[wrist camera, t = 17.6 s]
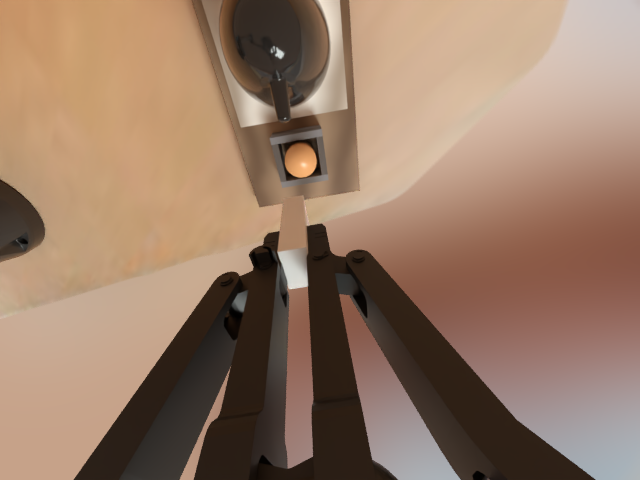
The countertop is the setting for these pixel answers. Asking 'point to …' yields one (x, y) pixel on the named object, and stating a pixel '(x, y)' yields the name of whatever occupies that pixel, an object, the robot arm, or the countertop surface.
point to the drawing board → (294, 118)
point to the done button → (300, 159)
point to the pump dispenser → (276, 50)
